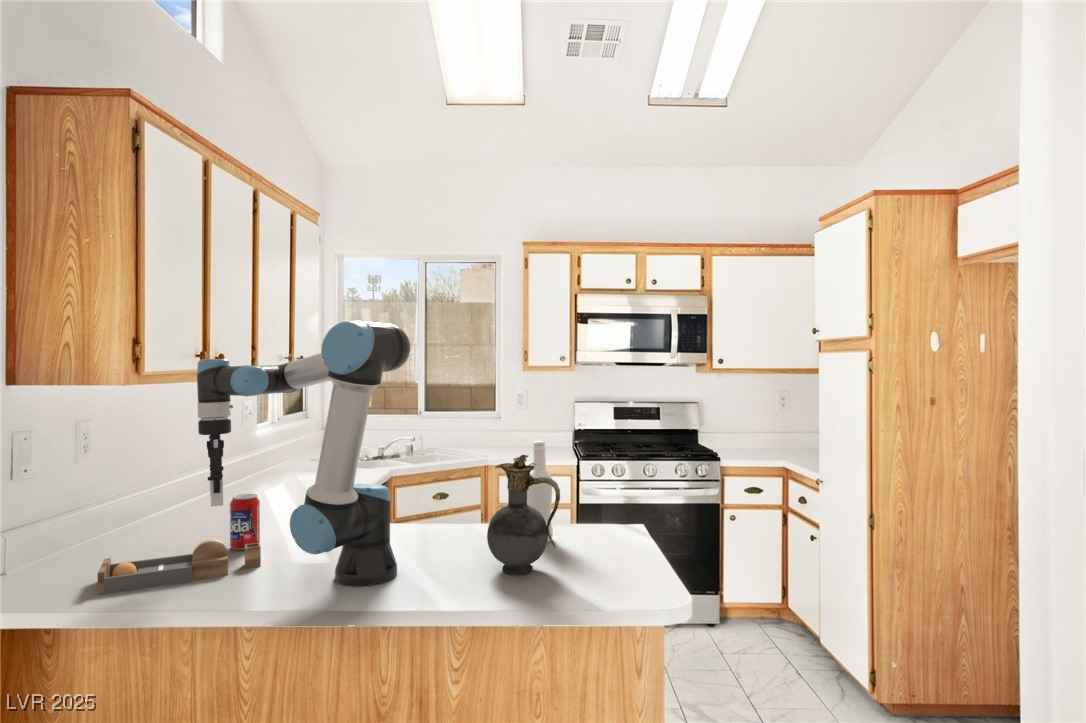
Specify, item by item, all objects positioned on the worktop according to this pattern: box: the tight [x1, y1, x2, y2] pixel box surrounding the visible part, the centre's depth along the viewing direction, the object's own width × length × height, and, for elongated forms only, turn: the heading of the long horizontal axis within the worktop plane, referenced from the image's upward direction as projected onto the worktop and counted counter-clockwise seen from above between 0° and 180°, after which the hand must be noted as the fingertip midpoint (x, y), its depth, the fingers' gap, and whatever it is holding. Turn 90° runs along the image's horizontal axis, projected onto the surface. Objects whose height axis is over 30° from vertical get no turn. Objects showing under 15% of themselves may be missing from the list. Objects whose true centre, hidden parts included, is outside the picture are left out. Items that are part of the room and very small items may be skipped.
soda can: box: [229, 493, 261, 551], centre depth 184 cm, size 8×8×15 cm
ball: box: [112, 561, 137, 577], centre depth 155 cm, size 5×5×5 cm
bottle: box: [527, 440, 554, 544], centre depth 191 cm, size 8×8×30 cm
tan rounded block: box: [192, 537, 229, 581], centre depth 163 cm, size 10×8×8 cm
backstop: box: [97, 557, 112, 595], centre depth 153 cm, size 12×1×5 cm, turn 28°
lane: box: [103, 553, 193, 595], centre depth 157 cm, size 12×18×4 cm, turn 118°
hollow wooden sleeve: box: [244, 542, 262, 569], centre depth 168 cm, size 4×4×5 cm
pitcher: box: [486, 454, 561, 575], centre depth 164 cm, size 11×19×30 cm, turn 76°
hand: (216, 500), depth 164 cm, fingers open, 13 cm apart
